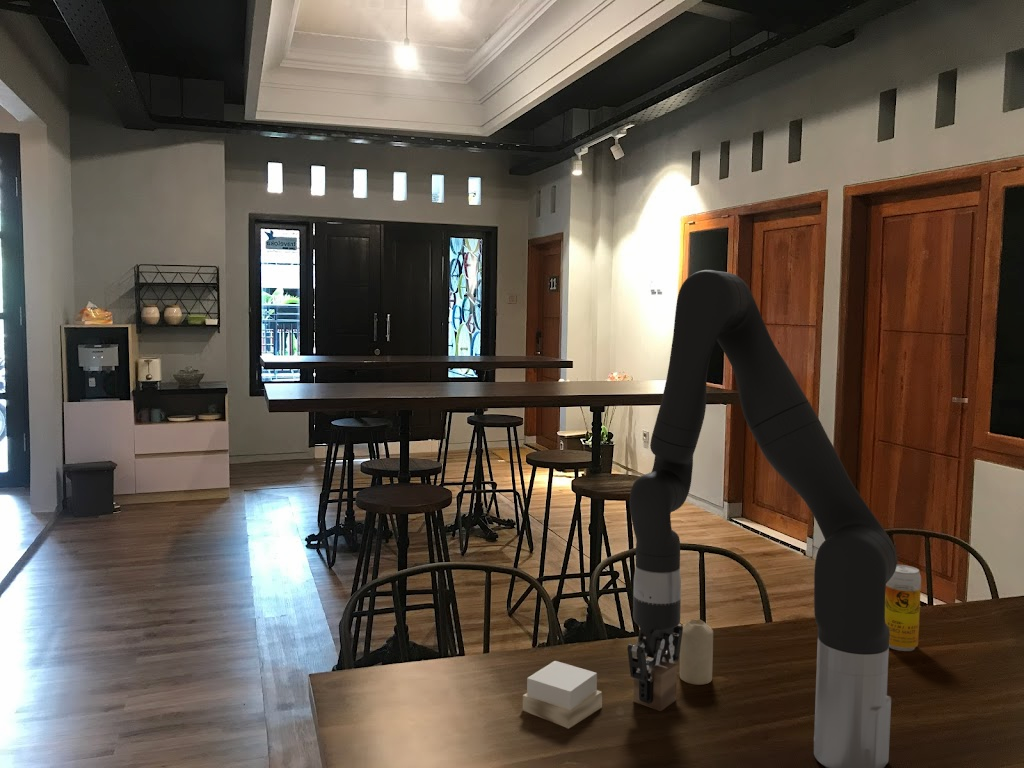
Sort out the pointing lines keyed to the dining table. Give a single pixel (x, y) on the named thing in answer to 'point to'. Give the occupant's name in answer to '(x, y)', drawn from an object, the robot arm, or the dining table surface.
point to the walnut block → (660, 686)
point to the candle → (696, 653)
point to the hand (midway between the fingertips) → (655, 695)
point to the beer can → (903, 608)
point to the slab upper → (562, 685)
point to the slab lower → (563, 710)
